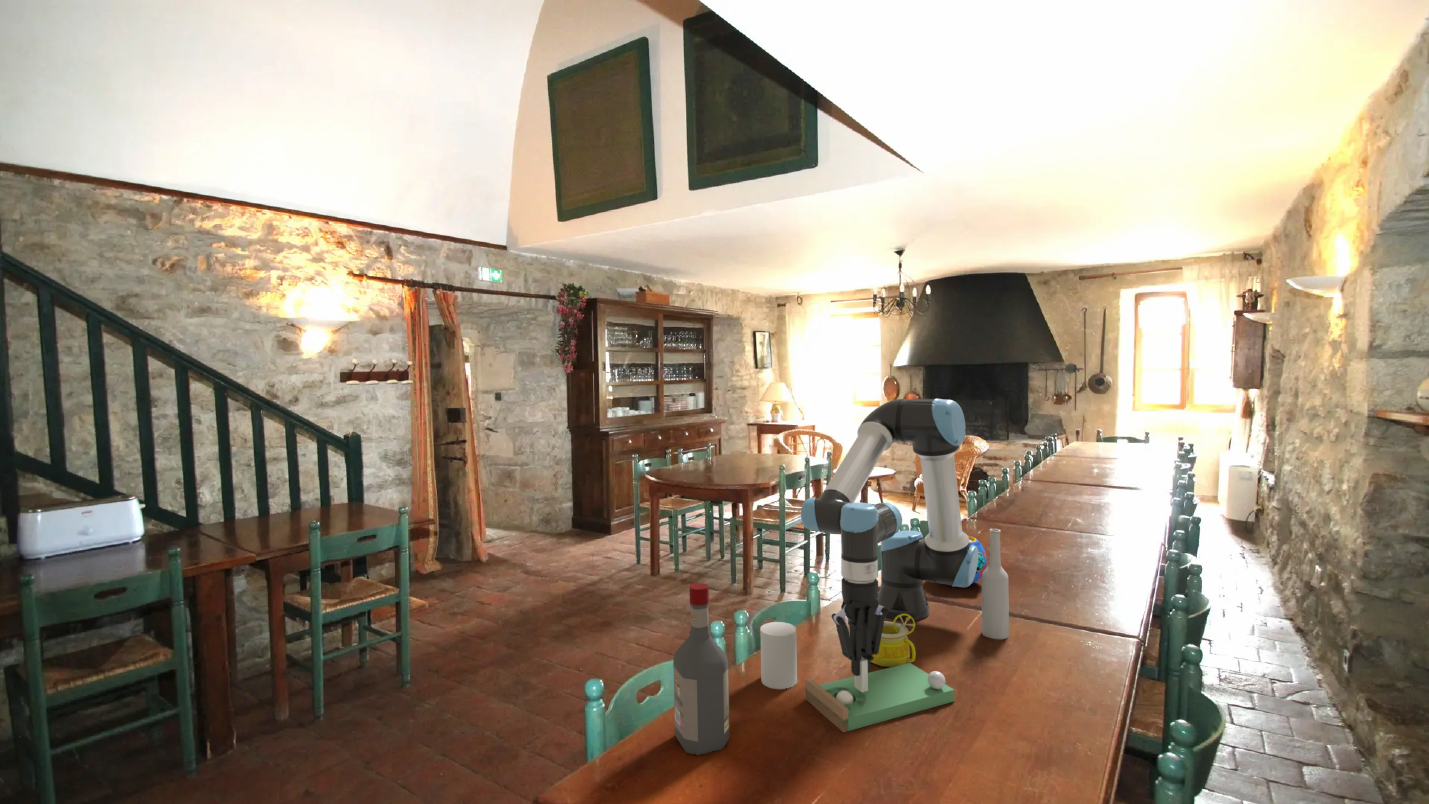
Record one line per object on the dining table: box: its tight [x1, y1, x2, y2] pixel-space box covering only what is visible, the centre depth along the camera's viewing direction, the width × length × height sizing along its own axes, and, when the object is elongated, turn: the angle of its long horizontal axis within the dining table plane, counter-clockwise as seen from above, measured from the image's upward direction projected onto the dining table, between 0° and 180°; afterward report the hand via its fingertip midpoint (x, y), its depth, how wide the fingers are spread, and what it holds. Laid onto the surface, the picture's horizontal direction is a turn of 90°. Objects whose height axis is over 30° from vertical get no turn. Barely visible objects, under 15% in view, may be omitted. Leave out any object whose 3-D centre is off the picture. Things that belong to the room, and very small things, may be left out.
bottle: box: [981, 528, 1010, 640], centre depth 168 cm, size 7×7×28 cm
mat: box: [804, 662, 955, 733], centre depth 136 cm, size 14×28×4 cm, turn 113°
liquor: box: [672, 582, 730, 756], centre depth 121 cm, size 9×9×30 cm
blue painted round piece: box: [968, 535, 988, 585], centre depth 210 cm, size 18×18×15 cm
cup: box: [759, 621, 798, 690], centre depth 145 cm, size 8×8×12 cm
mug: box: [870, 614, 917, 668], centre depth 154 cm, size 13×11×12 cm
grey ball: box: [928, 670, 946, 689], centre depth 135 cm, size 4×4×4 cm
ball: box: [836, 691, 854, 704], centre depth 133 cm, size 4×4×4 cm
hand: (861, 688), depth 134 cm, fingers closed
